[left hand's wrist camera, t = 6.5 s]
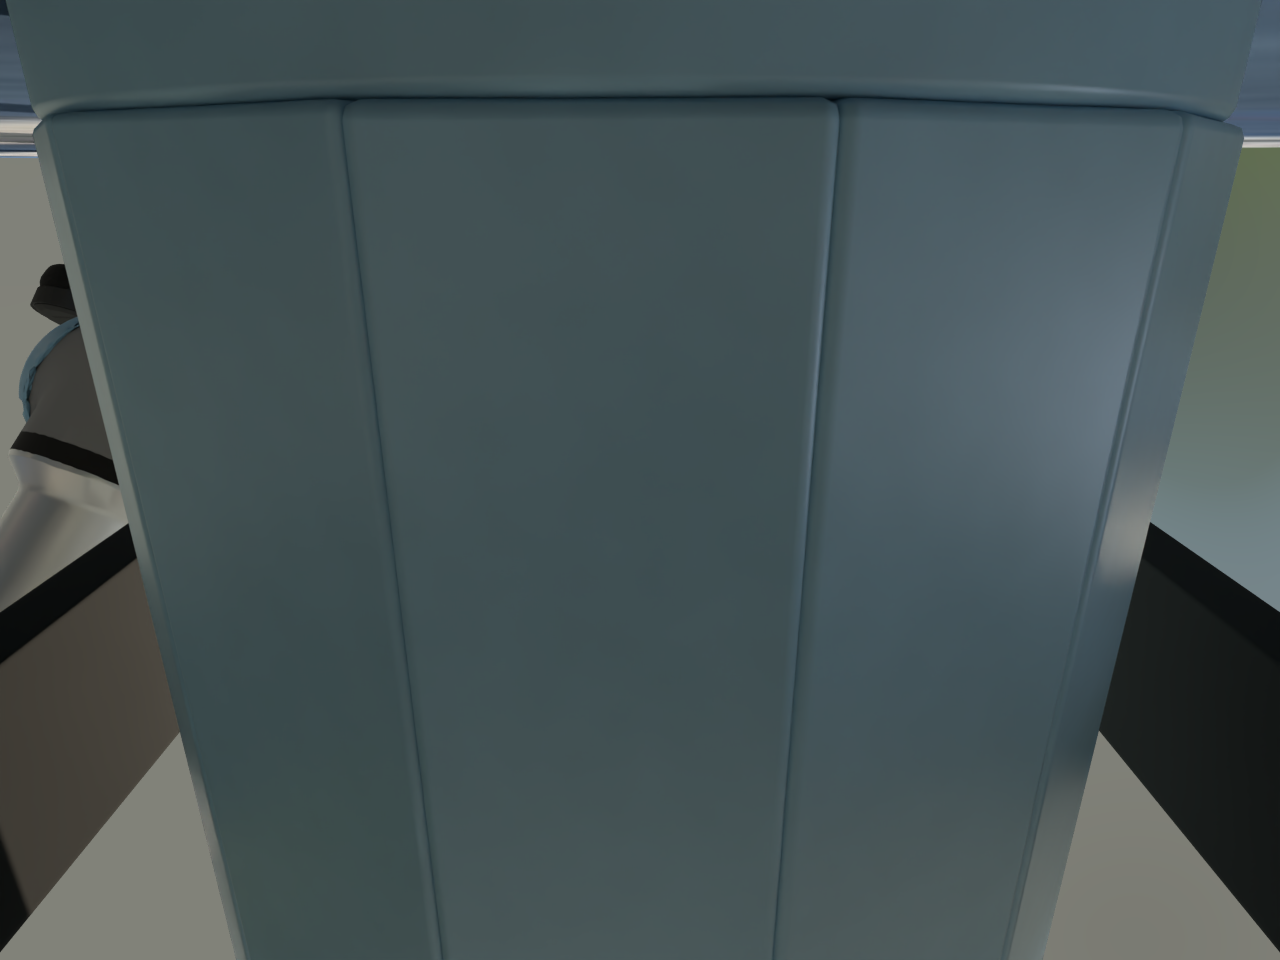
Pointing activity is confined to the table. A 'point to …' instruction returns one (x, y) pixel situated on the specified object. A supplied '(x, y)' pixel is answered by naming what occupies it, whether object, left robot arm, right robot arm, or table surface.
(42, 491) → the right robot arm
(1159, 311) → the beaker
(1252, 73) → the table surface
